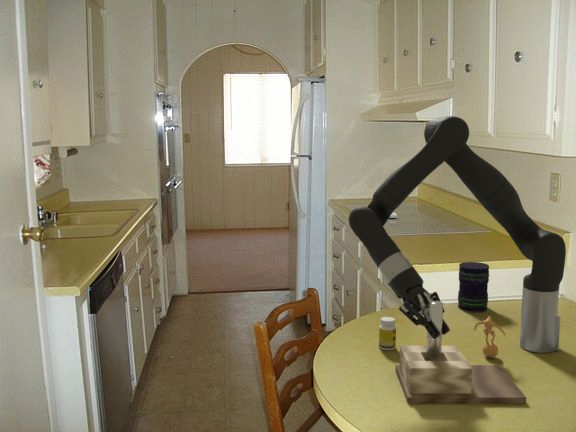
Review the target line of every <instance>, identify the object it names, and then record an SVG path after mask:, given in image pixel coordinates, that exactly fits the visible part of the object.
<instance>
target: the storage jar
mask: <svg viewBox="0 0 576 432" xmlns="http://www.w3.org/2000/svg"><path fill="white" fill-rule="evenodd" d="M458 266H459V269H458V281H459V286H458V287H459V289H458V290H459V291H458V293H457V303H458V304H457V309H459V310H461V311H464V312H468V313H483V312H486V311H488V303H489V293H488V287H489V285H488V284H489V281H490V278H489V277H490V273H489V272H490V270H489V269H490V265H489V264H488V263H483V262H477V261H476V262H475V261H467V262H466V261H464V262H461V263H459V265H458Z"/></svg>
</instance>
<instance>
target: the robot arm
mask: <svg viewBox="0 0 576 432" xmlns="http://www.w3.org/2000/svg"><path fill="white" fill-rule="evenodd" d="M423 132H424V133H423V137H424V141H425V143H426V144H425V145H424V146H423V147H422V149H421V150H419V151H418V153H416V154H415V155H414V156H413V157H412V158H410V159H409V160H408V161H406V162H405V163H404V164H402V165H401V166H400V167H398V168H397V169H396V170H394V171H393V172H392V173H391V174H390V175H389V176H388V177H387V178H386V179H385V180H384V181H383V182H382V184H381V185H380V186H379V187H378V188H377V189H376V190H375V191H374V193H373V194H372V200H371V201H370V203H368V205H367V206H362V205H361V206H356V207H355V208H353V209H352V211H350V213H349V216H348V223H349V224H348V225H349V228H350V229H351V230H352V231H353V233H354V235H355V236H356V237H357V238H358V239H359V241H360V242H361V243H362V244H363V246H364V247H365V248H366V250H367V252H368V254H369V256H370V258H371V259H372V261H373V262H374V265H376V267H377V268H378V270H379V272H380V274H381V275H382V278H383V279H384V280H385V282H386V283H387V285H388V286H389V288H390V289H391V291H392V292H393V293H394V295H395V296H396V298H397V299H399V300H400V299H401V300H402V302H403V303H402V305H401V306H399V307H398V309H399V311H400V312H401V313H402V314H403V315H404V316H405V317H406V318H407V319H408V320H410V321H411V322H412V323H413V324H414V325H415V326H417V327H418V326H422V327H424V328H425V330H426V332H427V331H428V333H429V334H430V336H431V337H432V338H433V339H436V338H437V337H439V336H440V335H441V333H440V331H439V330H438V329H437V327H436V326H435V324H434V323H433V322H432V321H431V319H430V317H429V315H428V302H429V301H440V302H442V301H441V299H440V296H439V294H438V292H437V291H433V292H432V293H431V292H429V291H428V290H427V289H426V288H425V287H424V280H423V278H422V277H421V275H420V274H419V272H418V271H417V269H416V268H415V267H414V266H413V264H412V263H411V261H410V260H409V259H408V258H407V256H406V255H405V254H404V253H403V252H402V250H401V249H400V248H399V247H398V245H397V244H396V242H395V241H394V239H393V238H391V236H390V235H389V233H388V231H386V229H385V227H384V226H385V225H386V223H387V222H388V220H389V219H390V218H391V216H392V215H393V213H394V211H395V210H397V208H398V207H400V206H401V205H402V203H403V202H405V200H406V199H407V198H408V197H409V196H410V195H411V194H412V193H413V191H415V189H416V188H417V187H418V186H419V185H420V184H421V183H422V182H424V180H425V179H426V178H427V177H429V176H430V175H431V173H433V172H434V171H436V169H438V167H440V166H441V165H442V164H443V163H444V162H445V164H446V165H448V167H450V168H451V169H452V170H453V171H454V172H455V174H456V176H457V177H458V178H459V179H460V180H461V182H462V183H463V185H465V187H466V188H467V189H468V191H470V192H471V194H472V196H473V197H475V199H476V200H477V201H478V202H479V203H480V205H481V206H482V207H483V208H484V209H485V210H486V211H487V212H488V213H489V214H490V215H491V217H492V218H493V219H494V220H495V221H496V222H497V223H498V224H499V225H500V226H501V227H502V228H503V229H504V230H505V231H506V233H507V234H508V235H509V237H510V238H511V239H512V241H513V243H514V244H515V245H516V247H517V248H518V250H519V251H520V253H521V254H522V255H523V256H524V257H525V258H526V259H527V260H529V261H531V262H532V263H531V264H532V265H531V272H530V273H528V274H526V275H524V276H523V281H522V296H521V297H522V298H521V300H522V301H521V302H522V303H521V314H520V315H521V318H520V335H519V336H520V337H519V346H520V347H521V348H522V349H524V350H526V351H528V352H534V353H539V354H546V353H547V354H548V353H549V354H550V353H553V352H558V351H559V348H560V346H559V345H560V335H561V334H560V330H561V329H560V328H561V317H560V316H559V315H558V313H559V312H558V311H559V298H560V297H559V294H560V284H561V283H562V281H563V278H564V272H565V266H566V255H567V250H566V249H567V247H566V246H567V245H566V242H565V240H564V238H563V237H562V236H561V235H559V234H558V233H556V232H552V231H550V230H546V229H543V227H540V226H539V225H538V224H537V223H536V222H535V221H534V220H533V219H532V218H531V217H530V216H529V214H527V213H526V211H525V209H524V206H523V204H522V201H521V198H520V195H519V193H518V192H517V190H516V189H515V187H514V186H513V184H512V183H511V182H510V181H509V180H508V178H507V177H506V176H505V175H504V174H503V173H502V172H501V171H500V170H499V169H497V168H496V167H495V166H494V165H493V164H491V163H489V162H488V161H487V160H486V159H484V158H483V157H481V156H479V155H478V154H477V153H476V152H474V151H473V150H472V149H471V148H470V146H469V145H468V143H467V142H468V141H469V138H470V137H469V136H470V129H469V126H468V124H467V122H466V121H465V120H464V119H463V118H461V117H458V116H452V115H451V116H450V115H449V116H440V117H436V118H433V119H431V120H429V121H428V122H427V124H426V126H425V127H424V130H423ZM445 311H446V310H445V309H444V307H443V314H444V313H445ZM450 331H451V328H450V327H449V325H448V324H447V322H446V321H445V319H443V321H442V336H443V335H446V334H448V333H449V332H450Z"/></svg>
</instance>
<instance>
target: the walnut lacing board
mask: <svg viewBox="0 0 576 432" xmlns="http://www.w3.org/2000/svg"><path fill="white" fill-rule="evenodd" d="M469 365H470V366H471V368H472V386H471V393H409V391H408V388H407V386H406V383H405V381H404V378H403V376H402V373H401V371H400V364H397V365H396V364H395V368H394V369H395V373H396V376H397V379H398V380H399V381H398V382H399V384H400V387H401V389H402V392H403V395H404V398H405V400H406V402H407V404H408V405H411V404H415V405H418V404H420V405H421V404H424V405H425V404H426V405H427V404H428V405H430V404H431V405H435V404H436V405H438V404H440V405H445V404H446V405H449V404H450V405H451V404H453V405H454V404H456V405H457V404H459V405H460V404H461V405H462V404H463V405H466V404H467V405H473V404H474V405H475V404H476V405H477V404H478V405H482V404H483V405H485V404H486V405H492V404H495V405H497V404H498V405H499V404H500V405H502V404H503V405H504V404H505V405H512V404H513V405H520V404H521V405H526V404H527V396H526V395H525V394H524V393H523V392H522V390H521V389H520V388H519V387H518V385H517V384H516V383H515V382H514V380H512V378H511V377H510V375H508V373H507V372H506V370H504V368H503V367H502V366H501V365H500V364H496V365H495V364H483V365H482V364H479V365H478V364H472V365H471V364H469Z"/></svg>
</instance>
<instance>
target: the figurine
mask: <svg viewBox="0 0 576 432" xmlns="http://www.w3.org/2000/svg"><path fill="white" fill-rule="evenodd" d="M478 325H484V330H483V333H484V335H485V342H486V343H485V344H484V345H483V347H482V353H483V355H484V356H485V357H487V358H490V359H492V358H493V359H494V358H495V357H497V355H498V354H499V348H498V346H497V345H496V344H495V343H494V341H495V337H496V334H495V330H492V329H493V327H495V328H497V329H499V330H500V332H501V333H502V334H503V335H504V337H507V336H506V333H505V332H504V330H503V329H502V327H501V326H499V325H498V324H497V323H495V322H494V321H493V320H492V316H490V315H489V316H488V317H487V318H486V319H484V320H482V321H478V322H476V323H475V326H474V328H473V331H477V328H478ZM489 335H490V336H491V339H490V341H491V342H489Z"/></svg>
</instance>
